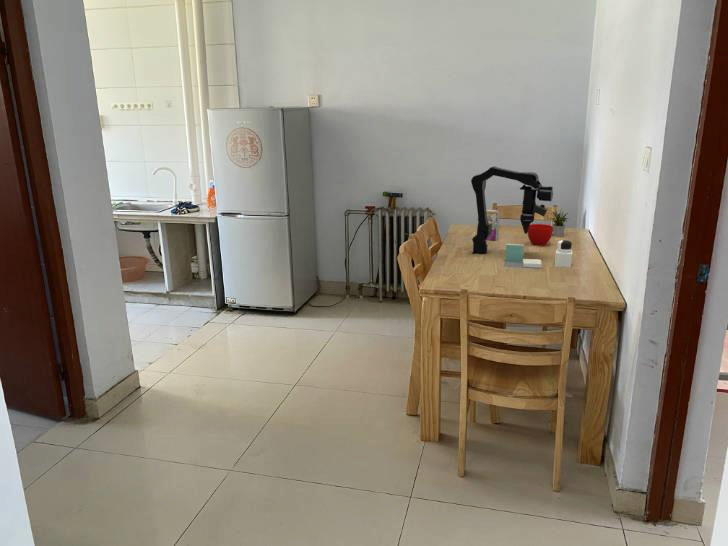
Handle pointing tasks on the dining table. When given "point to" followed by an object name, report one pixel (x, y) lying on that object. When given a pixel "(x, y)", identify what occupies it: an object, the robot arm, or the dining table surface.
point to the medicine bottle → (563, 254)
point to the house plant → (558, 223)
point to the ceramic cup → (540, 234)
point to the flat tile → (532, 263)
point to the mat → (515, 264)
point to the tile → (514, 252)
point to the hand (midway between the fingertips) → (526, 231)
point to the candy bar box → (493, 223)
